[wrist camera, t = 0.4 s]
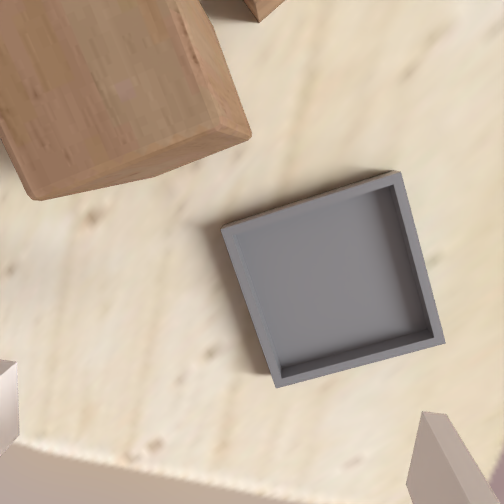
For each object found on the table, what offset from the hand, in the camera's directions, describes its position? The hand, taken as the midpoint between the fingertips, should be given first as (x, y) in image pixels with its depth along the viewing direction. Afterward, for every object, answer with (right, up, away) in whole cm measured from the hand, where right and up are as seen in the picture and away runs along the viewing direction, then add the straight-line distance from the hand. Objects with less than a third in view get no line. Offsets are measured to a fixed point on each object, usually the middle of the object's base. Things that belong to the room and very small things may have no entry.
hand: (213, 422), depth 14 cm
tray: (+9, +3, +27) cm, 28 cm away
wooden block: (-5, +18, +25) cm, 31 cm away
